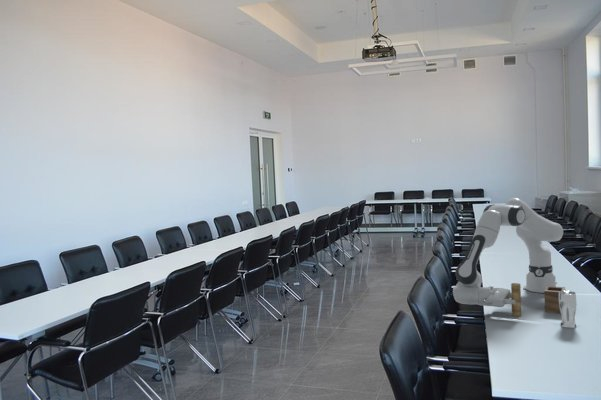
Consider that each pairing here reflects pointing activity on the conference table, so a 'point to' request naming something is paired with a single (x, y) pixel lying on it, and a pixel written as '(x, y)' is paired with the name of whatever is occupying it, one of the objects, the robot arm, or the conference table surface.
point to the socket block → (552, 298)
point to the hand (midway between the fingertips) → (517, 299)
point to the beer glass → (567, 308)
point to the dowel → (517, 296)
